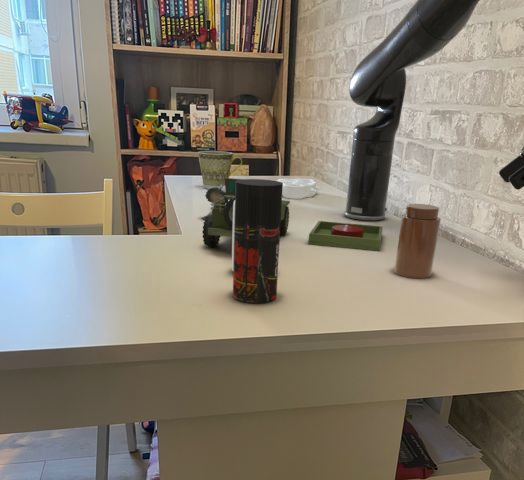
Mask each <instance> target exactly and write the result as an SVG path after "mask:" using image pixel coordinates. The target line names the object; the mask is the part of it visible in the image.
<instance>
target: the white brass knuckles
mask: <svg viewBox="0 0 524 480" xmlns="http://www.w3.org/2000/svg"><path fill="white" fill-rule="evenodd" d="M276 181H279V182H282V183H283V187H282V198H285V199H293V200H302V199H304V198H311V197H314V196H315V195H316V192H317V191H320V190H321V189H322V187H319V186H318V185H317V182H316V180H315V179H312V178H279V179H277V180H276Z"/></svg>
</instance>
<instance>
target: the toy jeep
mask: <svg viewBox="0 0 524 480" xmlns="http://www.w3.org/2000/svg"><path fill="white" fill-rule="evenodd" d="M224 179H225V190H226V195H225V196H224V197H223V198H221V199H220V200H218V201H216V202H214V203H210V206H211V207H210V210H211V211H212V215H207V214H206V215H205V216H206V218H205V219H204V221H203V225H202V242H203V244H204V245H205V246H207V247H211V248H213V247H218V245H219V244H220V240H221V239H220V238H221V237H228V238H232V232H233V204H234V201H235V181H237V180H242V179H243V178H231V177H229V178H224ZM223 199H225V201H222V202H220V203H218V204H216V203H217V202H219V201H221V200H223ZM223 202H224V203H223ZM290 203H291V200H285V199H284V200H283V199H282V205H281V223H280V235H287V232H288V229H289V222H290V209H289V205H290Z"/></svg>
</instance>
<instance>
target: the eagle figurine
mask: <svg viewBox="0 0 524 480" xmlns="http://www.w3.org/2000/svg"><path fill="white" fill-rule="evenodd" d="M225 195H226V192H224V191H223V190H220V189H219V188H217V187H216V188H215V187H214V188H211V189H207V190H206V192H205V195H204V197H205V199H206V200H207V202H209V203H210V204H212V203H214V202H216V201H218V200H220V199H221V198H223V197H224V196H225ZM222 201H225V199H223V200H221V201H219V202H217V203H216V204H218V203H220V202H222ZM223 203H224V202H223ZM207 215H212V210H210V211H209V212H208V213H207V214H206V215H205V216H203V217H200V218H201V220H205V218H206V216H207Z"/></svg>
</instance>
